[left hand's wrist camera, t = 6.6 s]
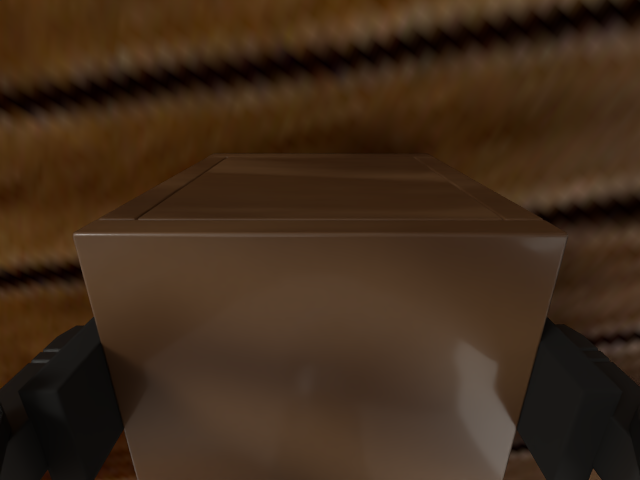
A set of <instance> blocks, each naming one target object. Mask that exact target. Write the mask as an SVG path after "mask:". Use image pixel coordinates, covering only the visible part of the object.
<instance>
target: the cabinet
mask: <svg viewBox="0 0 640 480" xmlns="http://www.w3.org/2000/svg"><path fill="white" fill-rule="evenodd" d="M73 239H74V243H75V247H76V251H77V254H78V258H79V262H80V266H81V269H82V273H83V277H84V281H85V284H86V288H87V292H88V296H89V299H90V303H91V307H92V311H93V315H94V318H95V322H96V326H97V330H98V333H99V337H100V341H101V345H102V348H103V352H104V356H105V360H106V363H107V367H108V371H109V375H110V378H111V382H112V386H113V390H114V393H115V397H116V401H117V405H118V408H119V412H120V416H121V420H122V424H123V427H124V431H125V435H126V439H127V442H128V446H129V450H130V454H131V457H132V461H133V465H134V469H135V472H136V476H137V480H503V478H504V475H505V471H506V467H507V464H508V460H509V456H510V452H511V449H512V445H513V441H514V437H515V434H516V430H517V426H518V422H519V419H520V415H521V411H522V407H523V404H524V400H525V396H526V393H527V389H528V385H529V381H530V378H531V374H532V370H533V366H534V363H535V359H536V355H537V351H538V348H539V344H540V340H541V337H542V333H543V329H544V325H545V322H546V318H547V314H548V310H549V307H550V303H551V299H552V295H553V292H554V288H555V284H556V280H557V277H558V273H559V269H560V266H561V262H562V258H563V254H564V251H565V247H566V243H567V239H568V234H567V233H566V232H564V231H563V230H561V229H559V228H557V227H556V226H554V225H552V224H550V223H549V222H547V221H544V220H543V219H542V218H540V217H538V216H537V215H535V214H533V213H531V212H529V211H528V210H526V209H524V208H522V207H521V206H519V205H517V204H515V203H514V202H512V201H510V200H508V199H506V198H505V197H503V196H501V195H499V194H498V193H496V192H494V191H492V190H491V189H489V188H487V187H485V186H483V185H482V184H480V183H478V182H476V181H475V180H473V179H471V178H469V177H468V176H466V175H464V174H462V173H460V172H459V171H457V170H455V169H453V168H452V167H450V166H448V165H446V164H445V163H443V162H441V161H439V160H437V159H436V158H434V157H433V156H431V155H429V154H212V155H210V156H208V157H207V158H205V159H204V160H202V161H200V162H198V163H197V164H195V165H193V166H191V167H189V168H188V169H186V170H184V171H182V172H181V173H179V174H177V175H175V176H174V177H172V178H170V179H168V180H166V181H165V182H163V183H161V184H159V185H158V186H156V187H154V188H152V189H151V190H149V191H147V192H145V193H143V194H142V195H140V196H138V197H136V198H135V199H133V200H131V201H129V202H127V203H126V204H124V205H122V206H120V207H119V208H117V209H115V210H113V211H112V212H110V213H108V214H106V215H104V216H103V217H101V218H99V220H96V221H94V222H92V223H90V224H88V225H86V226H85V227H83V228H81V229H79V230H78V231H76V232H74V233H73Z"/></svg>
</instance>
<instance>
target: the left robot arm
mask: <svg viewBox="0 0 640 480" xmlns="http://www.w3.org/2000/svg"><path fill="white" fill-rule="evenodd" d="M123 429H124V427H123V424H122V420H121V416H120V412H119V408H118V405H117V401H116V397H115V393H114V390H113V386H112V382H111V378H110V375H109V371H108V367H107V363H106V360H105V356H104V352H103V348H102V345H101V341H100V337H99V333H98V330H97V326H96V322H95V318H94V317H93V318H92V319H91V320H90V321H89V322H88V323H87V324H86V325H85V326H75V327H73V328H72V329H70V330H68V331H66V332H65V333H63V334H61V335H60V336H58V337H57V338H55V339H54V340H53V341H52V342H51V343H50V344H49V345H48V346H47V347H46V348H45V349H44V350H43V352H40V353H39V354H38V355H37V356H36V357H35V358H34V359H33V360H32V362H31V363H28V364H27V365H26V366H25V367H24V368H23V369H22V370H21V371H20V372H19V373H18V374H16V375H15V376H14V377H13V378H12V379H11V380H10V381H9V382H8V383H7V384H6V385H5V386H3V387H2V388H1V389H0V480H40V479H41V478H42V477H43V475H44V474H45V472H46V471H47V470H48V471H49V473H50V476H51V478H52V480H94V479H95V477H96V475H97V474H98V472H99V470H100V469H101V467H102V465H103V463H104V462H105V460H106V458H107V457H108V455H109V453H110V451H111V450H112V448H113V446H114V445H115V443H116V441H117V440H118V438H119V436H120V434H121V433H122V431H123ZM517 430H518V432H519V434H520V435H521V437H522V439H523V441H524V442H525V444H526V446H527V447H528V449H529V451H530V452H531V454H532V456H533V458H534V459H535V461H536V463H537V464H538V466H539V468H540V470H541V471H542V473H543V475H544V476H545V478H546V480H589V477H590V475H591V472H592V469H593V468H594V470H595V471H596V472H597V474H598V475H599V477H600V478H601V479H602V480H640V387H639V386H638V385H637V384H636V383H635V382H634V381H633V380H632V379H630V378H629V377H628V376H627V375H626V374H625V373H624V372H623V371H622V370H621V369H620V368H618V367H617V366H616V365H615V364H614V363H613V362H610V361H609V358H608V357H606V356H605V355H604V354H603V353H602V352H601V351H598V348H597V347H595V346H594V345H593V344H592V343H591V342H590V341H589V340H588V339H587V338H586V337H585V336H583V335H582V334H580V333H578V332H576V331H575V330H573V329H571V328H569V327H568V326H566V325H555V324H554V323H553V322H552V321H551V320H550V319H549V318H546V322H545V325H544V329H543V333H542V337H541V340H540V344H539V348H538V351H537V355H536V359H535V363H534V366H533V370H532V374H531V378H530V381H529V385H528V389H527V393H526V396H525V400H524V404H523V407H522V411H521V415H520V419H519V422H518V426H517Z"/></svg>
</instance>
